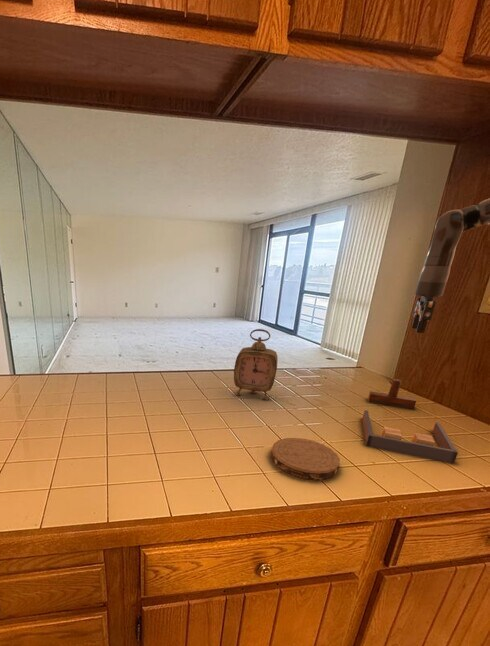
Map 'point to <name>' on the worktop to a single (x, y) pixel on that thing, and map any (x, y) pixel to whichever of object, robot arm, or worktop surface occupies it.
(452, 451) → the corral
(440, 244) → the robot arm
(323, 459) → the brown disc
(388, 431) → the cube
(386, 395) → the brush
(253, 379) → the tabletop clock
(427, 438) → the cube
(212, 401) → the worktop surface
